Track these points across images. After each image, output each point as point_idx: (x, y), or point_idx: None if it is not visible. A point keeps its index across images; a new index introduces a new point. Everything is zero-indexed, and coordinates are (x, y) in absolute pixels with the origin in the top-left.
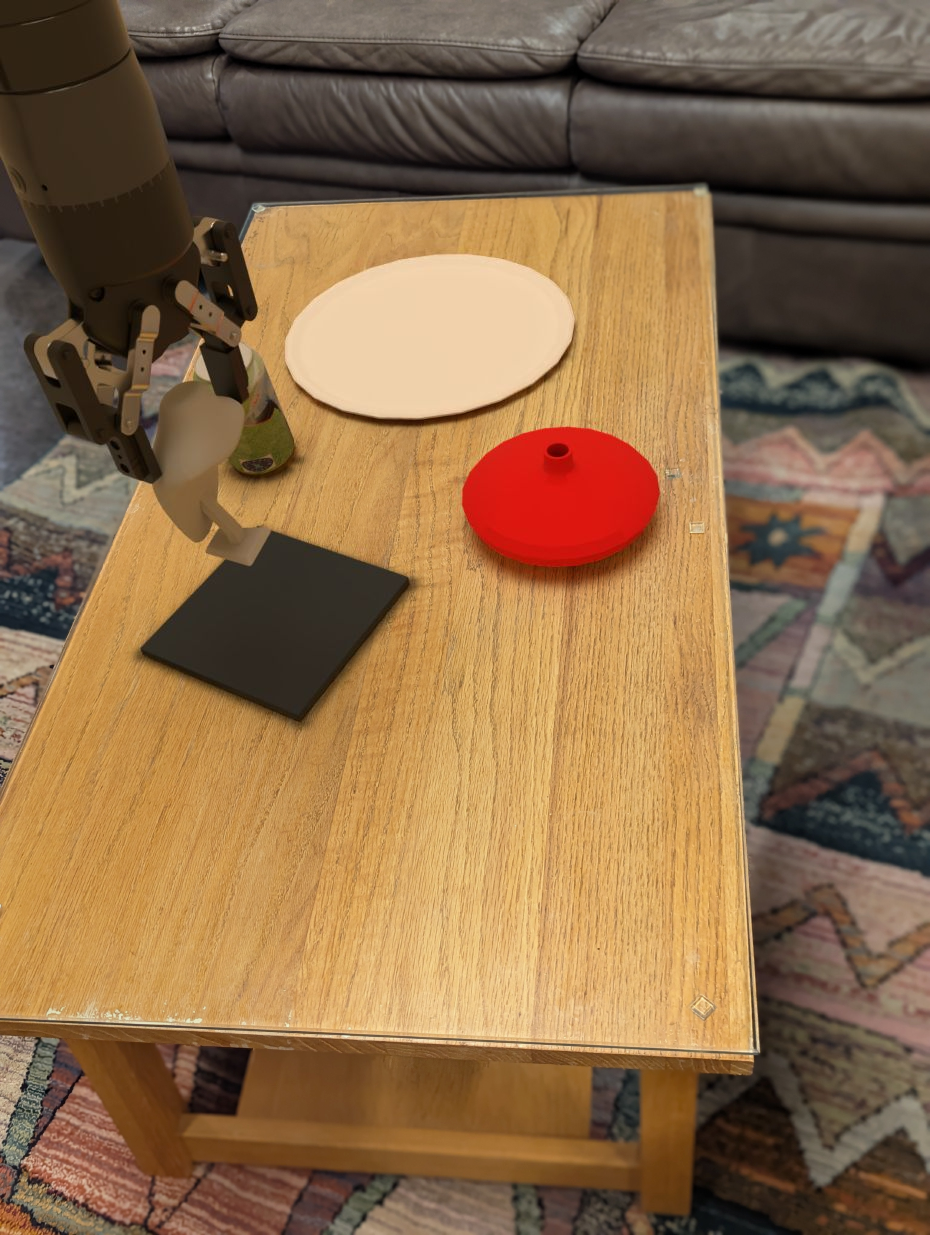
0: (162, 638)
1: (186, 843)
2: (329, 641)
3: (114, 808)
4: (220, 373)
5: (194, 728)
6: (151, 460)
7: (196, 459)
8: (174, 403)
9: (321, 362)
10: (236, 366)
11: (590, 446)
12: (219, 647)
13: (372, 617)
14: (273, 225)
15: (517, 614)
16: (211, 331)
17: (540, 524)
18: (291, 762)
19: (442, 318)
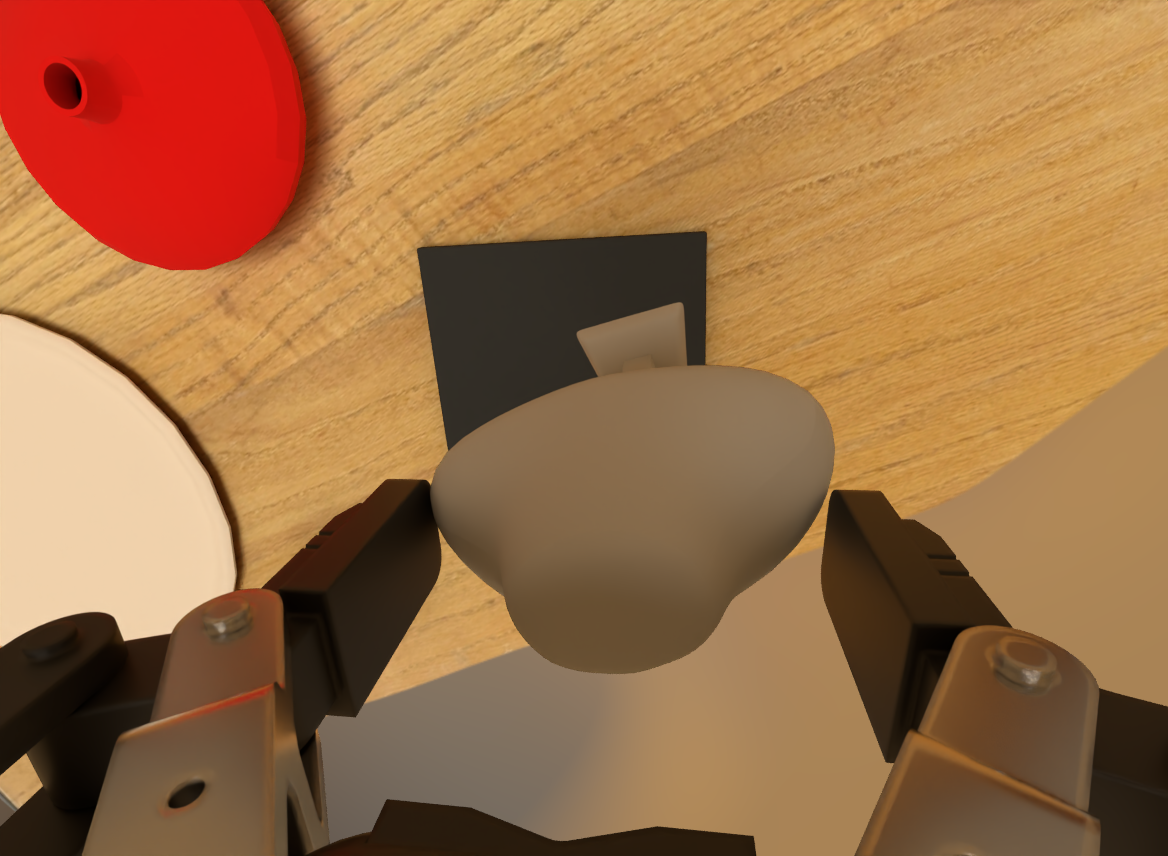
0: None
1: (948, 240)
2: (573, 278)
3: (931, 368)
4: (391, 587)
5: (776, 359)
6: (883, 526)
7: (767, 406)
8: (685, 601)
9: (182, 606)
10: (339, 546)
11: (29, 84)
12: None
13: (506, 248)
14: None
15: (380, 50)
16: (284, 709)
17: (220, 58)
18: (771, 195)
19: (12, 514)
